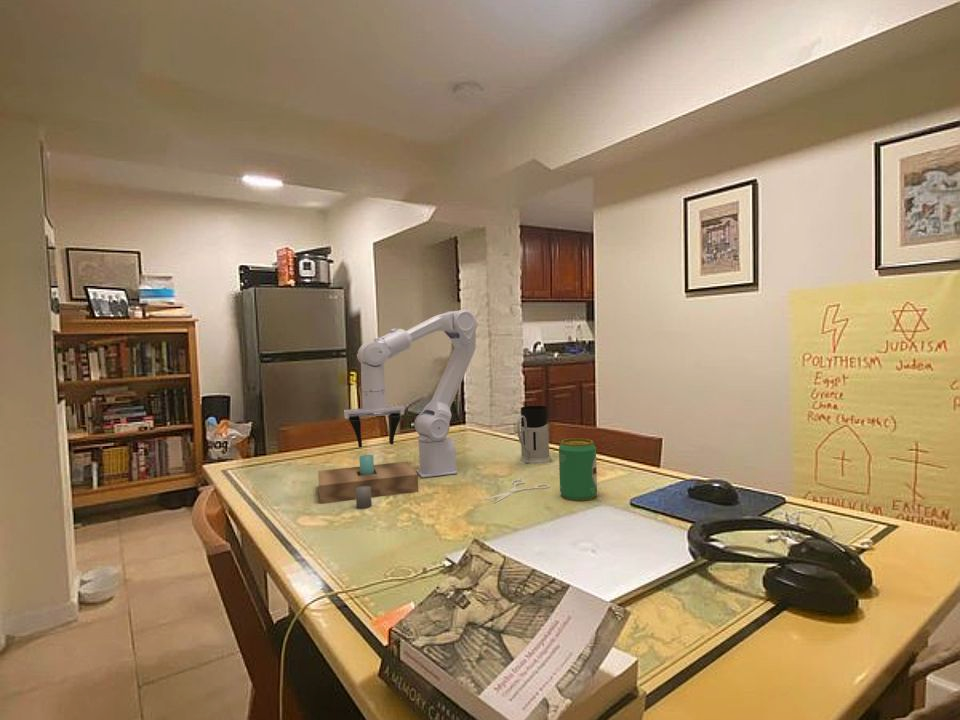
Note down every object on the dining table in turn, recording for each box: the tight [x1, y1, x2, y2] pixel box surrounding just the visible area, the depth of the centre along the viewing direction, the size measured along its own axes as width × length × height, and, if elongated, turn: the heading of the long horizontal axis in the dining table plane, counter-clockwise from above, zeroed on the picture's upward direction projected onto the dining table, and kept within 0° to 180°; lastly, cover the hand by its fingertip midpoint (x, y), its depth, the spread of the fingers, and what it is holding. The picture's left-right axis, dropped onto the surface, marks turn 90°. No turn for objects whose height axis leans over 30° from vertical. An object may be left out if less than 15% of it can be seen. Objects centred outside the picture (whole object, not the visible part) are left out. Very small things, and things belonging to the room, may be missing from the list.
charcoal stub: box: [355, 486, 373, 510], centre depth 113 cm, size 3×3×4 cm
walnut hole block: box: [317, 461, 419, 504], centre depth 126 cm, size 22×14×4 cm, turn 108°
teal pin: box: [359, 454, 375, 476], centre depth 126 cm, size 3×3×8 cm
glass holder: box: [516, 405, 552, 465], centre depth 148 cm, size 9×14×15 cm, turn 148°
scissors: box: [478, 477, 550, 504], centre depth 120 cm, size 11×1×20 cm
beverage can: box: [558, 437, 598, 502], centre depth 115 cm, size 8×8×12 cm
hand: (375, 445), depth 132 cm, fingers open, 7 cm apart
